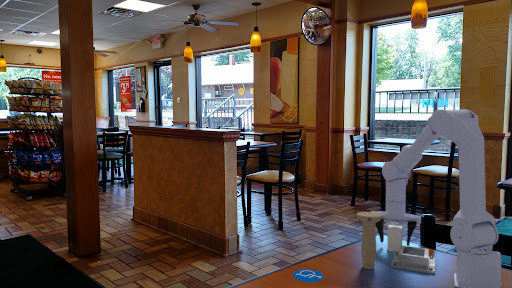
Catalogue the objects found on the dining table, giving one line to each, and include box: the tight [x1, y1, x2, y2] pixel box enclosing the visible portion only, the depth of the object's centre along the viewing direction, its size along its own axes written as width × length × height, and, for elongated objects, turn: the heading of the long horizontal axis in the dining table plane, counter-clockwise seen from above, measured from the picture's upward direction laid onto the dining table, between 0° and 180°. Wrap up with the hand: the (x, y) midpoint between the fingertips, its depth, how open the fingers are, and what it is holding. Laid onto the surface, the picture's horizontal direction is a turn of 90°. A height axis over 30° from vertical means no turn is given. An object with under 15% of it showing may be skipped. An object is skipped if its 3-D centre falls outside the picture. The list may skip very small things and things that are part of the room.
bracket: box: [390, 245, 436, 275], centre depth 108 cm, size 11×11×4 cm
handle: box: [356, 211, 381, 270], centre depth 105 cm, size 5×6×15 cm
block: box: [386, 224, 404, 253], centre depth 119 cm, size 4×4×7 cm
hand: (394, 243), depth 119 cm, fingers open, 7 cm apart
